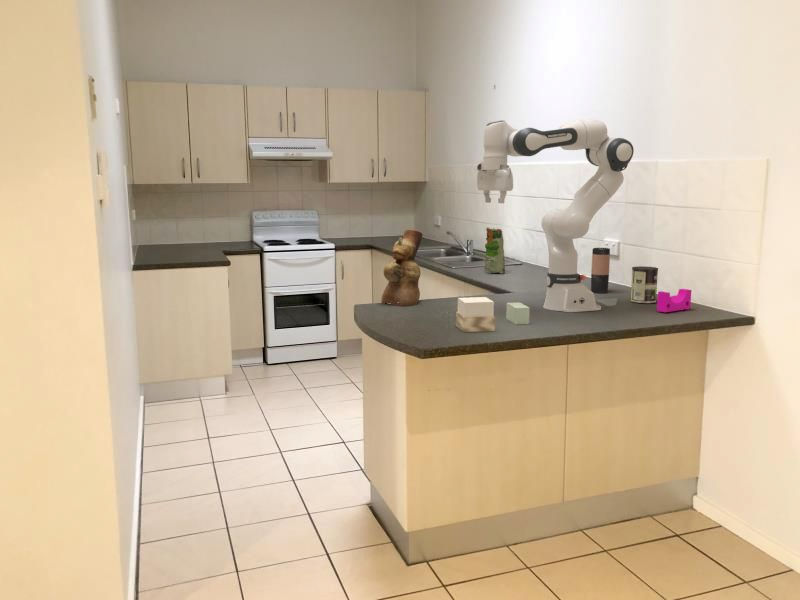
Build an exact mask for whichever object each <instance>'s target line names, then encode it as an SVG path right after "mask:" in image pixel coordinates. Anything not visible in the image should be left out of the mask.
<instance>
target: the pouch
mask: <svg viewBox="0 0 800 600" xmlns="http://www.w3.org/2000/svg"><path fill="white" fill-rule="evenodd" d="M485 230H486V238H485V240H486V241H487V242H486V243H485V244H484V248H485V257H484V258H485V259H484V264H485V265H484V273H485V274H487V275H490V274H497V275H498V274H499V275H502V274H503V275H504V274H505V273H506V268H505V267H506V264H505V250H504V236H503V231H502V229H501V228H497V229H496V228H494V227H493V228H490V227H486V228H485Z"/></svg>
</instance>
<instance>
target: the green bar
mask: <svg viewBox="0 0 800 600" xmlns="http://www.w3.org/2000/svg"><path fill="white" fill-rule="evenodd" d="M530 310H531V309H530V307H529V306H527V305H525V304H523V303H522V302H506V315H505V317H506V318H505V319H506V320H508V321H509V322H511V323H513V324H514V325H530Z"/></svg>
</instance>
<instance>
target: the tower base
mask: <svg viewBox="0 0 800 600" xmlns="http://www.w3.org/2000/svg"><path fill="white" fill-rule="evenodd" d="M455 326H456V327H457V328H458V329H459V330H460V331H461V332H463V333H472V332H473V333H475V332H495V331H496V316H495V315H494V317H463V316H462V315H461V314H460V313H458V311H456V312H455Z"/></svg>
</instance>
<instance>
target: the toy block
mask: <svg viewBox="0 0 800 600" xmlns="http://www.w3.org/2000/svg"><path fill="white" fill-rule="evenodd" d="M670 294H671V293H670V292H666V291H661V290H660V291H657V300H656V312H662V313H670V312H676V311H683V310H684V309H685V310H690V309H691V303H692V301H691V300H692V289H688V288H687V289H686V288H679V289H678V292H677V294H676V295H670ZM689 308H690V309H689Z"/></svg>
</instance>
